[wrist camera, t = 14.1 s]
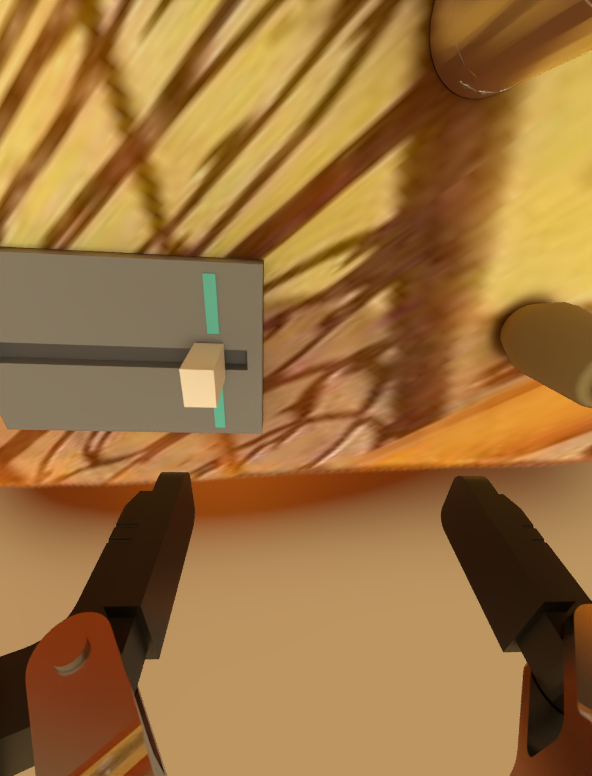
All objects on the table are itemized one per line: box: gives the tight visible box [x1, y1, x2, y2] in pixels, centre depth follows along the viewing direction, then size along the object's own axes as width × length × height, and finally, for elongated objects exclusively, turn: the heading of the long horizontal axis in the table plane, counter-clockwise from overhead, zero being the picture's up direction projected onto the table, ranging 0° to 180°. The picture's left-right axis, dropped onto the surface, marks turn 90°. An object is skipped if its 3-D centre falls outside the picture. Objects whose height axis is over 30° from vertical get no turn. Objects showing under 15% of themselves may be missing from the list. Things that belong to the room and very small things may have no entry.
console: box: [0, 247, 264, 434], centre depth 36 cm, size 20×30×3 cm, turn 87°
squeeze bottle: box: [500, 302, 592, 408], centre depth 30 cm, size 8×8×18 cm
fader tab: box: [179, 343, 226, 408], centre depth 33 cm, size 4×3×7 cm
